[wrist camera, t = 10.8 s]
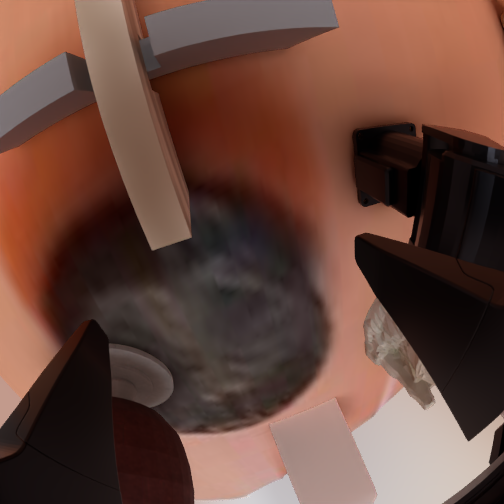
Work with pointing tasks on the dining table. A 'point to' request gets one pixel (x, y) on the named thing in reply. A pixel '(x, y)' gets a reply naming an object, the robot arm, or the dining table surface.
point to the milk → (323, 457)
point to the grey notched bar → (163, 55)
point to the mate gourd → (146, 431)
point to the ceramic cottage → (396, 355)
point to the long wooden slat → (134, 119)
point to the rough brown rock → (502, 19)
